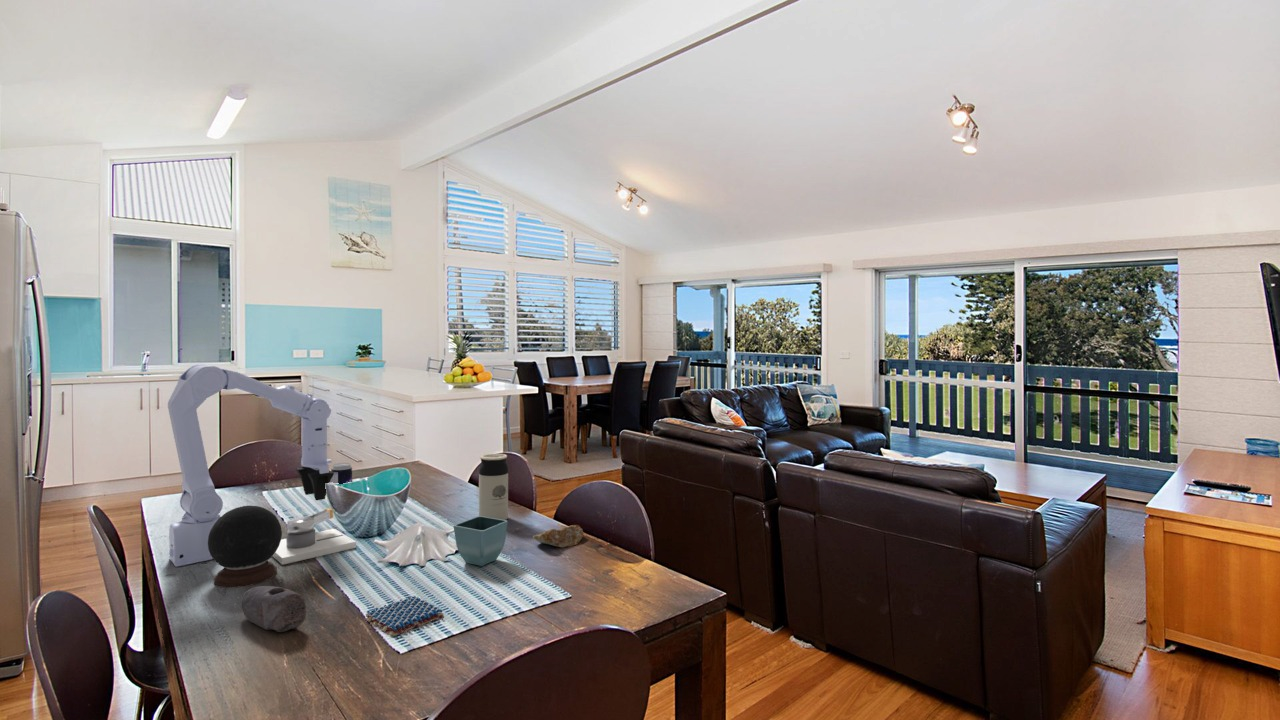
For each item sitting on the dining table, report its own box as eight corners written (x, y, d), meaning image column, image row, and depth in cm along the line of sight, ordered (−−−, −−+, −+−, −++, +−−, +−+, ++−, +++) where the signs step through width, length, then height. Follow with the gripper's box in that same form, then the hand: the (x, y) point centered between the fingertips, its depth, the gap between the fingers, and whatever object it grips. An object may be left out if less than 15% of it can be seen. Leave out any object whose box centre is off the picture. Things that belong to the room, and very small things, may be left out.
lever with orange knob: (303, 534, 142) (303, 524, 142) (281, 533, 143) (281, 523, 143) (341, 517, 156) (341, 508, 156) (321, 516, 157) (321, 507, 157)
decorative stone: (523, 526, 150) (565, 519, 162) (522, 544, 150) (564, 536, 162) (552, 533, 145) (592, 526, 157) (550, 552, 144) (591, 543, 156)
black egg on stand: (296, 569, 134) (296, 501, 134) (242, 592, 121) (242, 518, 121) (249, 562, 138) (248, 496, 137) (192, 585, 125) (191, 512, 124)
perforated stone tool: (230, 621, 109) (229, 583, 109) (260, 610, 114) (259, 573, 114) (279, 642, 102) (279, 601, 102) (309, 629, 107) (309, 590, 107)
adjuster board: (282, 564, 136) (282, 544, 136) (263, 549, 146) (263, 530, 146) (356, 547, 148) (355, 529, 148) (334, 534, 158) (334, 517, 158)
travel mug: (476, 517, 174) (476, 454, 174) (504, 514, 177) (504, 452, 177) (481, 525, 167) (481, 459, 166) (510, 521, 170) (511, 457, 170)
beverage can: (346, 506, 184) (346, 466, 183) (327, 505, 184) (327, 466, 184) (355, 501, 190) (355, 462, 189) (337, 500, 190) (337, 462, 189)
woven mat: (414, 603, 119) (414, 592, 119) (446, 619, 112) (446, 608, 112) (361, 621, 111) (361, 610, 111) (392, 640, 104) (392, 628, 104)
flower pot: (452, 564, 138) (452, 524, 138) (479, 552, 146) (479, 515, 145) (482, 571, 134) (482, 530, 134) (508, 559, 142) (508, 520, 141)
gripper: (341, 446, 156) (341, 499, 157) (321, 439, 166) (321, 489, 167) (311, 449, 151) (311, 504, 151) (292, 442, 161) (292, 493, 162)
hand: (314, 496), depth 159 cm, fingers open, 7 cm apart
